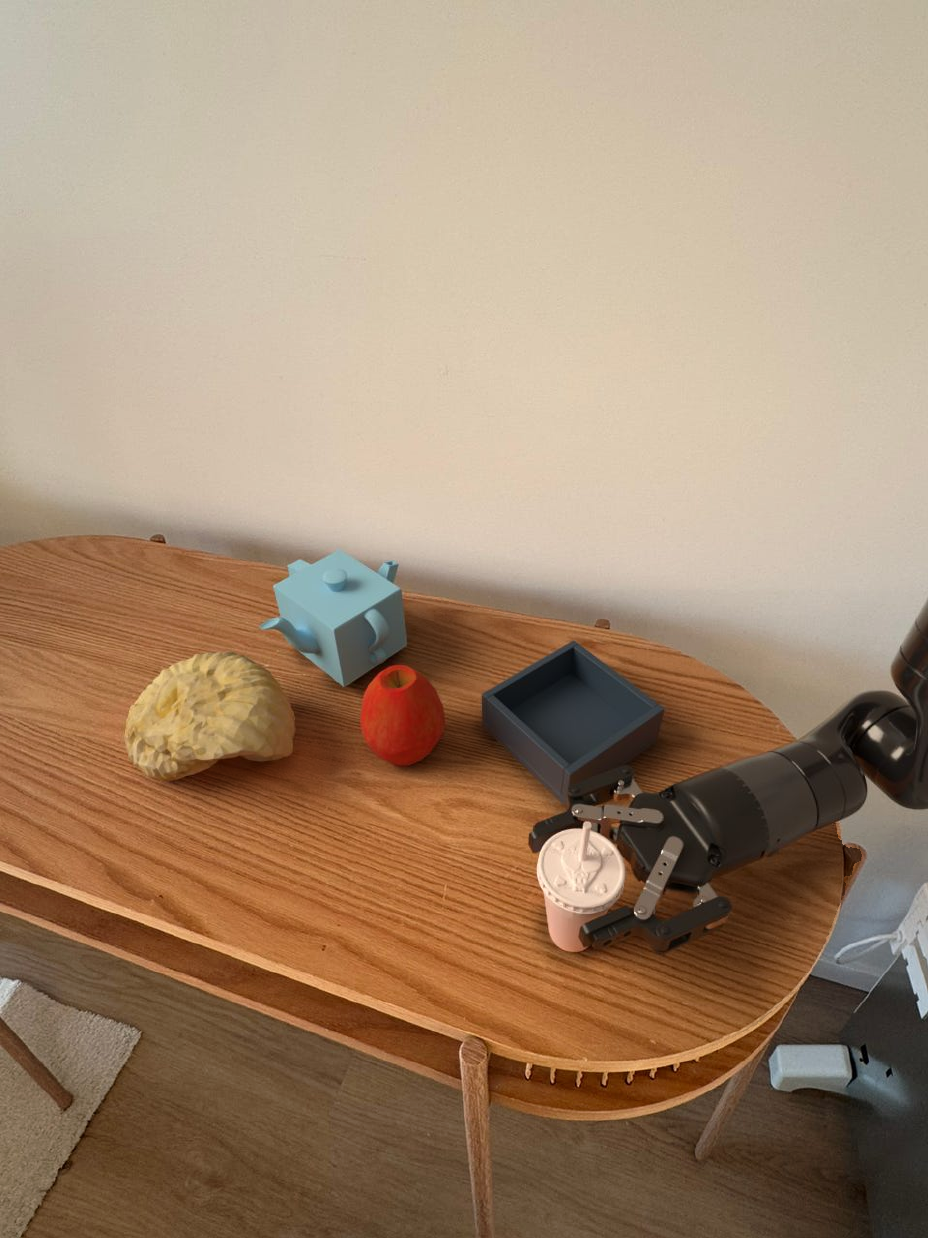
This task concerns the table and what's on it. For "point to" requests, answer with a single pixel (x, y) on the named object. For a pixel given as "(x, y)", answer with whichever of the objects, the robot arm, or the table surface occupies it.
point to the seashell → (208, 717)
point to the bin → (570, 718)
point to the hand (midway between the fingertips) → (555, 888)
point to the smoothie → (578, 882)
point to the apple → (401, 716)
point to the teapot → (341, 614)
